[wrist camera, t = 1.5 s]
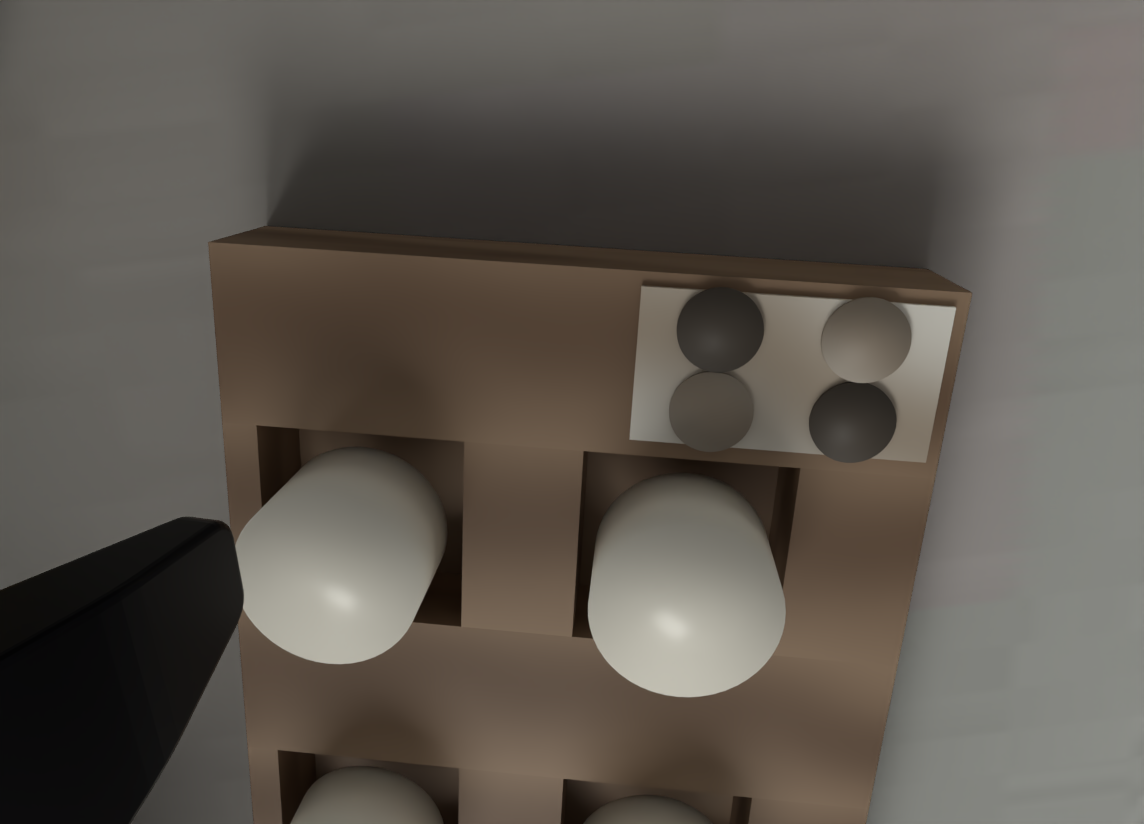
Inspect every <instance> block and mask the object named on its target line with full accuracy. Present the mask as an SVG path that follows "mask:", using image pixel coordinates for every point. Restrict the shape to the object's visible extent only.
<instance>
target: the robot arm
mask: <svg viewBox="0 0 1144 824" xmlns="http://www.w3.org/2000/svg"><path fill="white" fill-rule="evenodd" d="M243 604H244V589H243V584H242V579H241V574H240V568H239V563H238V558H237V552H236V547H235V542H234V537H233V534H232V531H231V529H230V528H229V526H228V525H227V524H225V523H224V522H222V521H218V520H211V519H203V518H196V517H180V518H177V519H175V520H172V521H170V522H167V523H165V524H162V525H160V526H157V527H155V528H152V529H150V530H147V531H145V532H142V533H140V534H138V535H135V536H133V537H130V538H128V539H125V540H123V541H120V542H118V543H115V544H113V545H110V546H108V547H106V548H103V549H101V550H98V551H96V552H93V553H91V554H88V555H86V556H83V557H81V558H78V559H76V560H73V561H71V562H69V563H66V564H64V565H61V566H59V567H56V568H54V569H51V570H49V571H46V572H44V573H41V574H39V575H36V576H34V577H32V578H29V579H27V580H24V581H22V582H19V583H17V584H14V585H12V586H9V587H7V588H4V589H2V590H0V824H130V823H131V822H132V820H133V818H134V817H135V815H136V814H137V812H138V810H139V809H140V807H141V806H142V804H143V803H144V801H145V799H146V798H147V796H148V795H149V793H150V791H151V790H152V788H153V786H154V785H155V783H156V781H157V780H158V778H159V776H160V775H161V773H162V771H163V770H164V768H165V766H166V765H167V763H168V761H169V759H170V757H171V755H172V753H173V752H174V750H175V748H176V746H177V744H178V742H179V740H180V738H181V736H182V734H183V732H184V730H185V728H186V726H187V724H188V722H189V720H190V718H191V716H192V714H193V712H194V710H195V708H196V706H197V704H198V702H199V700H200V698H201V696H202V694H203V692H204V690H205V688H206V686H207V684H208V682H209V680H210V678H211V676H212V674H213V672H214V670H215V668H216V666H217V664H218V662H219V660H220V658H221V656H222V654H223V652H224V650H225V648H226V646H227V644H228V642H229V640H230V638H231V636H232V634H233V632H234V630H235V628H236V626H237V623H238V621H239V619H240V616H241V613H242V610H243Z"/></svg>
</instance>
